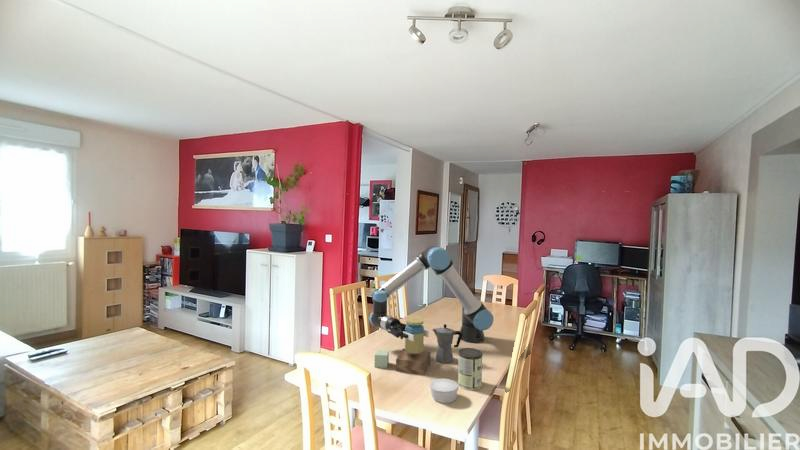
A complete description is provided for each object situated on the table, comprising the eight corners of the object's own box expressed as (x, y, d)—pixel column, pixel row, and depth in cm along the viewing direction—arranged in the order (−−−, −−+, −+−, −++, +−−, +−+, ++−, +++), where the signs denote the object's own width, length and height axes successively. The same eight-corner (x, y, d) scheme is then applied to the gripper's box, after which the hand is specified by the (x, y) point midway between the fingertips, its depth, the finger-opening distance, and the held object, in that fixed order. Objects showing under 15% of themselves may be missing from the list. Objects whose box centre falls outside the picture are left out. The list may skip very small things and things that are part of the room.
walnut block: (430, 363, 172) (430, 351, 172) (425, 375, 158) (425, 362, 158) (402, 360, 175) (402, 348, 175) (395, 371, 161) (396, 359, 161)
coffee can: (461, 377, 156) (461, 346, 156) (484, 382, 152) (484, 350, 152) (454, 387, 147) (455, 354, 147) (479, 392, 143) (479, 358, 142)
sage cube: (388, 362, 171) (388, 350, 171) (386, 368, 165) (387, 355, 165) (376, 362, 171) (376, 350, 171) (374, 367, 165) (374, 354, 165)
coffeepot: (429, 361, 174) (429, 325, 173) (434, 354, 182) (435, 320, 182) (459, 366, 168) (460, 329, 168) (463, 359, 177) (464, 324, 177)
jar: (409, 356, 160) (410, 323, 160) (401, 349, 169) (402, 318, 168) (427, 353, 164) (427, 322, 164) (418, 346, 172) (418, 316, 172)
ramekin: (426, 401, 135) (426, 388, 135) (433, 388, 145) (434, 376, 145) (454, 407, 131) (454, 393, 131) (460, 394, 141) (460, 381, 141)
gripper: (406, 327, 187) (436, 339, 170) (374, 335, 173) (403, 349, 156) (406, 314, 187) (436, 324, 170) (374, 320, 173) (403, 332, 156)
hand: (420, 336), depth 163 cm, fingers closed on jar, 9 cm apart
